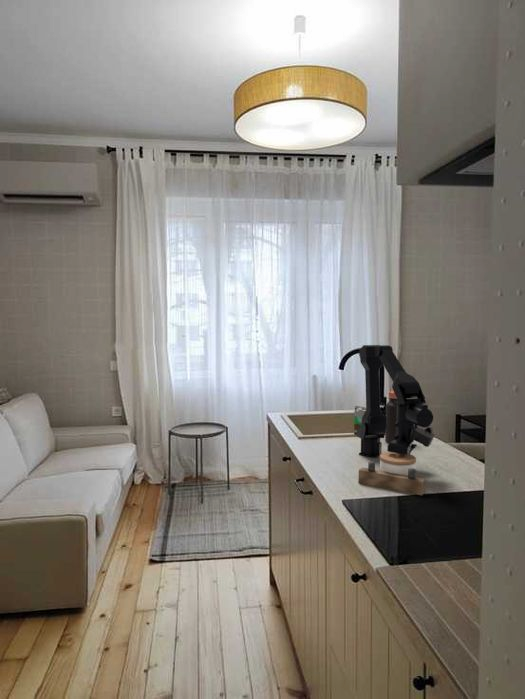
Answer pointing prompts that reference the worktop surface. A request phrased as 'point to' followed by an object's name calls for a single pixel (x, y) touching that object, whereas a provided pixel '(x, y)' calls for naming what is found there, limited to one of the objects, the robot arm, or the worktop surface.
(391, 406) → the bottle
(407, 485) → the stop bar
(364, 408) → the food container
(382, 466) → the lidded jar
